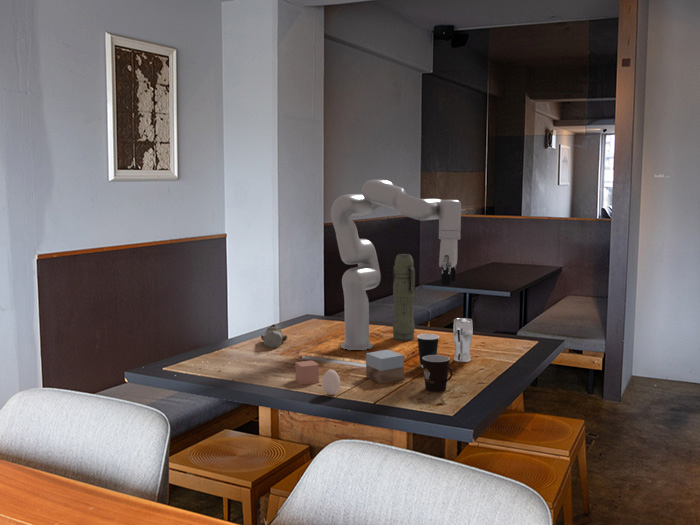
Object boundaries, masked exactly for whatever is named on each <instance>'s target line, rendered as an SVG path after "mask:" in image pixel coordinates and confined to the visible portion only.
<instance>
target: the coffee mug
mask: <svg viewBox="0 0 700 525" xmlns="http://www.w3.org/2000/svg"><path fill="white" fill-rule="evenodd" d="M422 360H423V368H422V369H423V376H424V387H425V391H427V392H431V393H442V392H445V391H446V390H447V383H448V382H449V381H450V380H451V379H452V377H453V369H452V368H451V366H450V361H451V358H450V357H449V356H446V355H442V354H437V355H427V356H424V357H422ZM449 372H450V375H449ZM448 376H449V377H448Z"/></svg>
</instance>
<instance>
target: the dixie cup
mask: <svg viewBox="0 0 700 525" xmlns="http://www.w3.org/2000/svg"><path fill="white" fill-rule="evenodd" d="M416 338H417V346H418V355H419V356H418V357H419V364H420V368H422V369H423V360H422V357H424V356H427V355H438V345H439V339H440V336H439V335H438V334H435V333H421V334H418V335H416Z"/></svg>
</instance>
